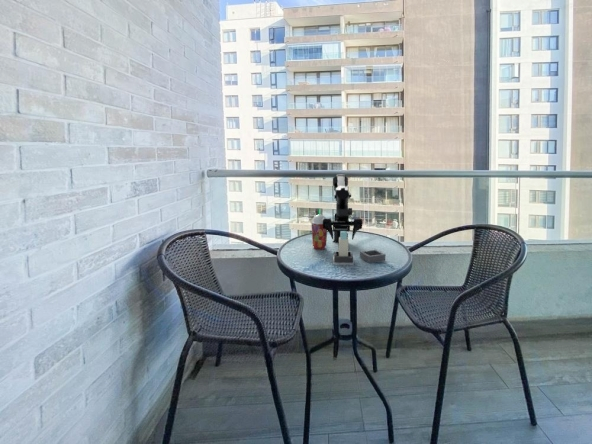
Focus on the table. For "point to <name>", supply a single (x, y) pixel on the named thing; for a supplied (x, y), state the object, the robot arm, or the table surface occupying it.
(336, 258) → the port
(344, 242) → the cream bottle
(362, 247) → the table surface
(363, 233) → the table surface
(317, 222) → the smoothie
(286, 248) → the table surface
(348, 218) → the robot arm
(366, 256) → the grey square tray
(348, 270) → the table surface
